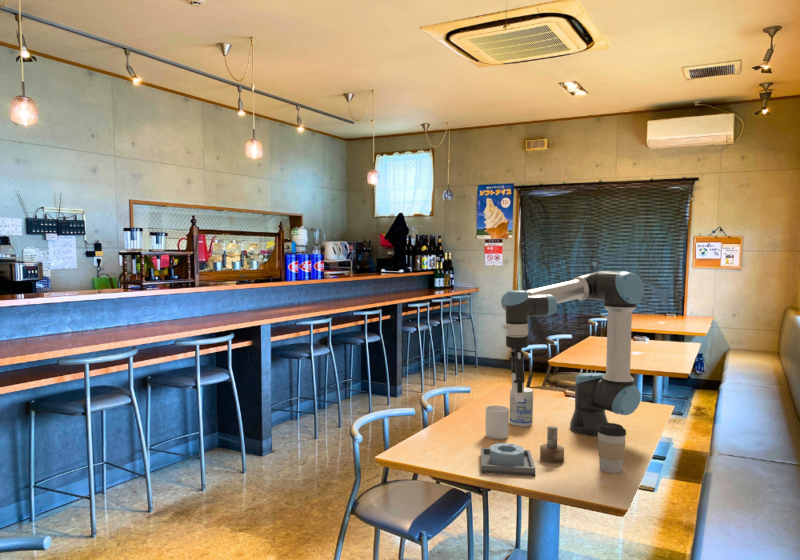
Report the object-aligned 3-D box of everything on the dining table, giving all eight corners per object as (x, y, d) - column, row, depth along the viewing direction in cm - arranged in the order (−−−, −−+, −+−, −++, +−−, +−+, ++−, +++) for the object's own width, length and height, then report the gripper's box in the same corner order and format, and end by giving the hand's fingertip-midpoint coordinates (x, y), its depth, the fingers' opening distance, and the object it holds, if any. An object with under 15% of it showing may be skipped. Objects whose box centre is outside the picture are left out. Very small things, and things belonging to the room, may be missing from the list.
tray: (529, 457, 196) (529, 450, 196) (535, 476, 179) (535, 468, 179) (480, 454, 198) (480, 447, 198) (481, 473, 181) (481, 465, 181)
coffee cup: (591, 464, 189) (592, 420, 189) (617, 463, 190) (618, 420, 189) (603, 475, 180) (604, 429, 180) (630, 474, 181) (631, 428, 180)
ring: (521, 456, 193) (522, 444, 193) (524, 468, 182) (525, 455, 182) (489, 455, 195) (489, 442, 194) (490, 467, 184) (491, 453, 183)
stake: (561, 455, 198) (562, 424, 197) (565, 463, 190) (566, 431, 189) (538, 454, 199) (539, 423, 198) (541, 462, 191) (542, 430, 190)
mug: (501, 442, 212) (501, 412, 211) (481, 437, 217) (481, 408, 217) (516, 434, 221) (516, 406, 221) (496, 429, 227) (496, 402, 226)
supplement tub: (517, 428, 229) (518, 392, 228) (504, 422, 237) (505, 387, 237) (537, 425, 232) (538, 390, 232) (523, 419, 241) (524, 385, 241)
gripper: (503, 330, 205) (503, 387, 206) (509, 341, 180) (509, 406, 182) (524, 330, 204) (524, 387, 206) (532, 341, 180) (533, 406, 181)
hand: (517, 396), depth 194 cm, fingers open, 13 cm apart
